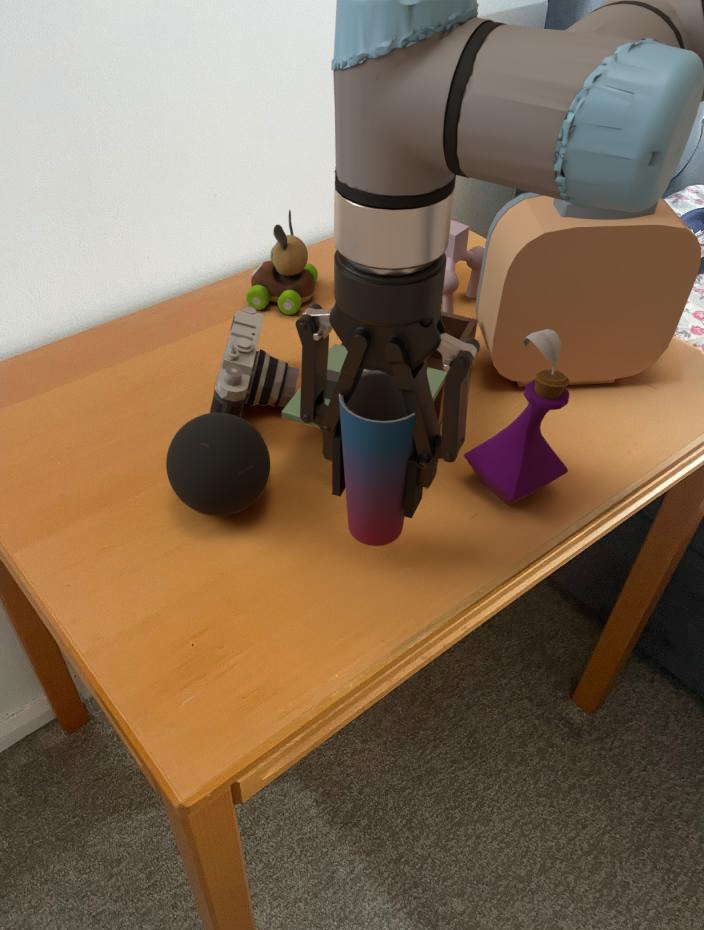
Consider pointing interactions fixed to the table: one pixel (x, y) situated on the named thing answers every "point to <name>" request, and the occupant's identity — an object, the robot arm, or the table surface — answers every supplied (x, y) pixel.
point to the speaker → (218, 464)
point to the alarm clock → (583, 287)
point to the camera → (250, 370)
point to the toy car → (283, 275)
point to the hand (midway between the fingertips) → (376, 496)
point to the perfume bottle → (525, 434)
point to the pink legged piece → (457, 253)
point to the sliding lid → (333, 372)
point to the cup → (376, 458)
